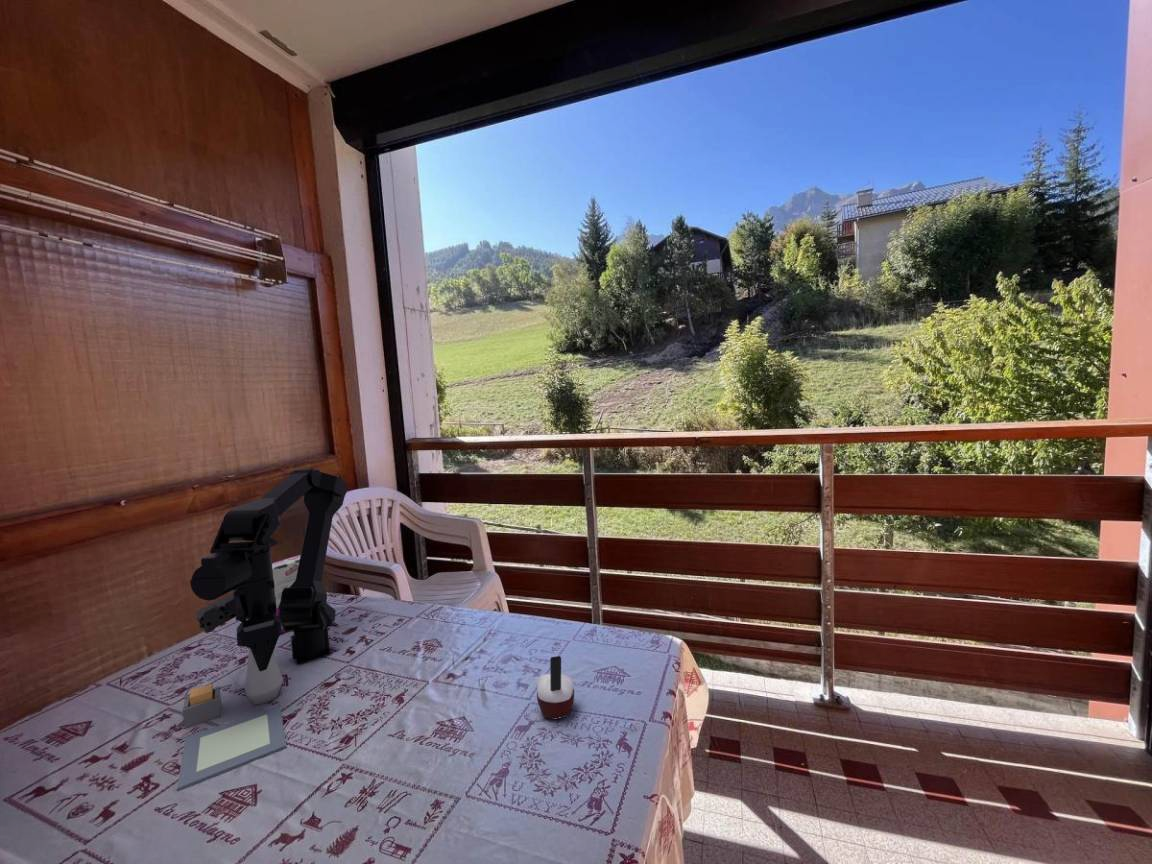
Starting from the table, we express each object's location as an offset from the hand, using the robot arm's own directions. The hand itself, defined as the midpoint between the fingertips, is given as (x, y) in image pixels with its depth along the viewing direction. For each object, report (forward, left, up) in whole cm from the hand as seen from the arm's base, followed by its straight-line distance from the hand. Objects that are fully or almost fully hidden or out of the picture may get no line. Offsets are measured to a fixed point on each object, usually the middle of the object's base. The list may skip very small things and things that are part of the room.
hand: (262, 660), depth 86 cm
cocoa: (-39, +38, -7) cm, 55 cm away
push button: (+9, -1, -5) cm, 10 cm away
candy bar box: (-7, -31, -7) cm, 33 cm away
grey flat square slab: (+5, +12, -7) cm, 14 cm away
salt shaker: (0, 0, -7) cm, 7 cm away
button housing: (+9, -1, -7) cm, 11 cm away
